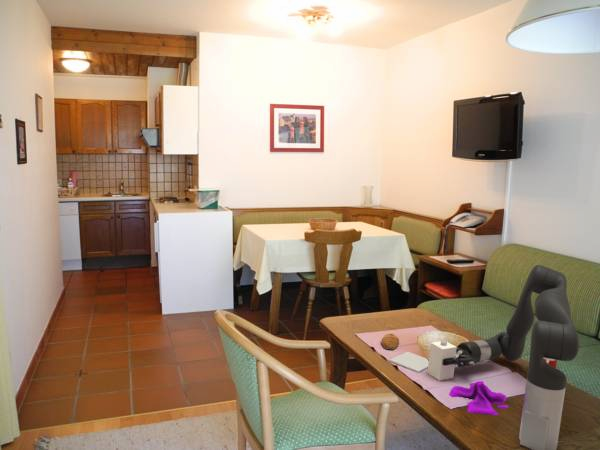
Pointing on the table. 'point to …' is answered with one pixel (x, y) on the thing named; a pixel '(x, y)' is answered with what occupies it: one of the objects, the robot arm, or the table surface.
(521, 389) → the table surface
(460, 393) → the cloth
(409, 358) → the mat
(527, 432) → the robot arm
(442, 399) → the table surface
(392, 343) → the pastry
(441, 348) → the white square bottle
